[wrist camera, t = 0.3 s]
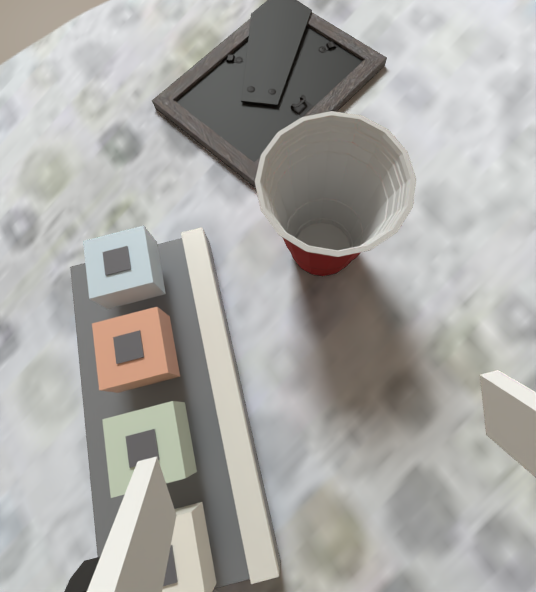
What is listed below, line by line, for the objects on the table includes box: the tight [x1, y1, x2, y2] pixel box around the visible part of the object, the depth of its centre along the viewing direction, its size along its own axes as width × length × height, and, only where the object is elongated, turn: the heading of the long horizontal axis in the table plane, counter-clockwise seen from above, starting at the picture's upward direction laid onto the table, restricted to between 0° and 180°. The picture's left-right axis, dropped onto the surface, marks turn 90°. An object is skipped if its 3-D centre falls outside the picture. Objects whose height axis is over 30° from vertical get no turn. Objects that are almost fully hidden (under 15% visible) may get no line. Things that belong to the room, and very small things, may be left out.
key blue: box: [83, 225, 166, 309], centre depth 31 cm, size 5×5×3 cm
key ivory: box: [162, 502, 216, 592], centre depth 25 cm, size 5×5×3 cm
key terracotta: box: [92, 307, 180, 393], centre depth 29 cm, size 5×5×3 cm
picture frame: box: [152, 0, 387, 188], centre depth 43 cm, size 16×2×21 cm
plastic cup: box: [255, 111, 416, 276], centre depth 31 cm, size 11×11×12 cm
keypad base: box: [70, 228, 280, 589], centre depth 32 cm, size 28×13×3 cm, turn 14°
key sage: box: [102, 401, 197, 498], centre depth 27 cm, size 5×5×3 cm
